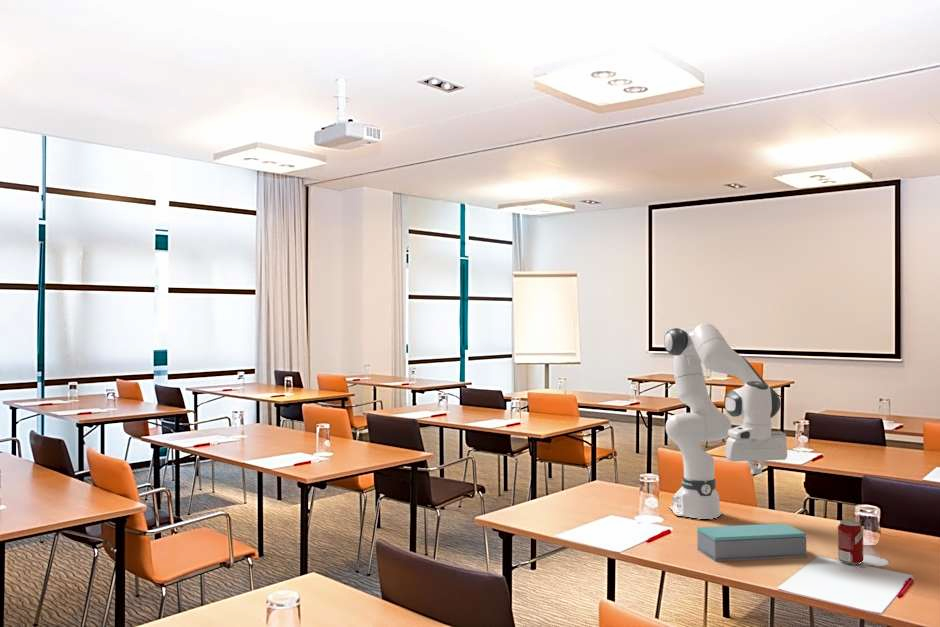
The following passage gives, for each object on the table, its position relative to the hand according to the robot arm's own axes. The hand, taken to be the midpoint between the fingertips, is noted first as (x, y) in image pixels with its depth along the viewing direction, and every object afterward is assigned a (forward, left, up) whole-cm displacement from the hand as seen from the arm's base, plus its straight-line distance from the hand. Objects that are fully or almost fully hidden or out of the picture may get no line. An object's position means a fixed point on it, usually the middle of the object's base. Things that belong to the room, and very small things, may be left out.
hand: (756, 473), depth 241 cm
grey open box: (+8, -7, -23) cm, 25 cm away
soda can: (+21, +18, -23) cm, 37 cm away
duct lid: (+8, -7, -17) cm, 20 cm away
